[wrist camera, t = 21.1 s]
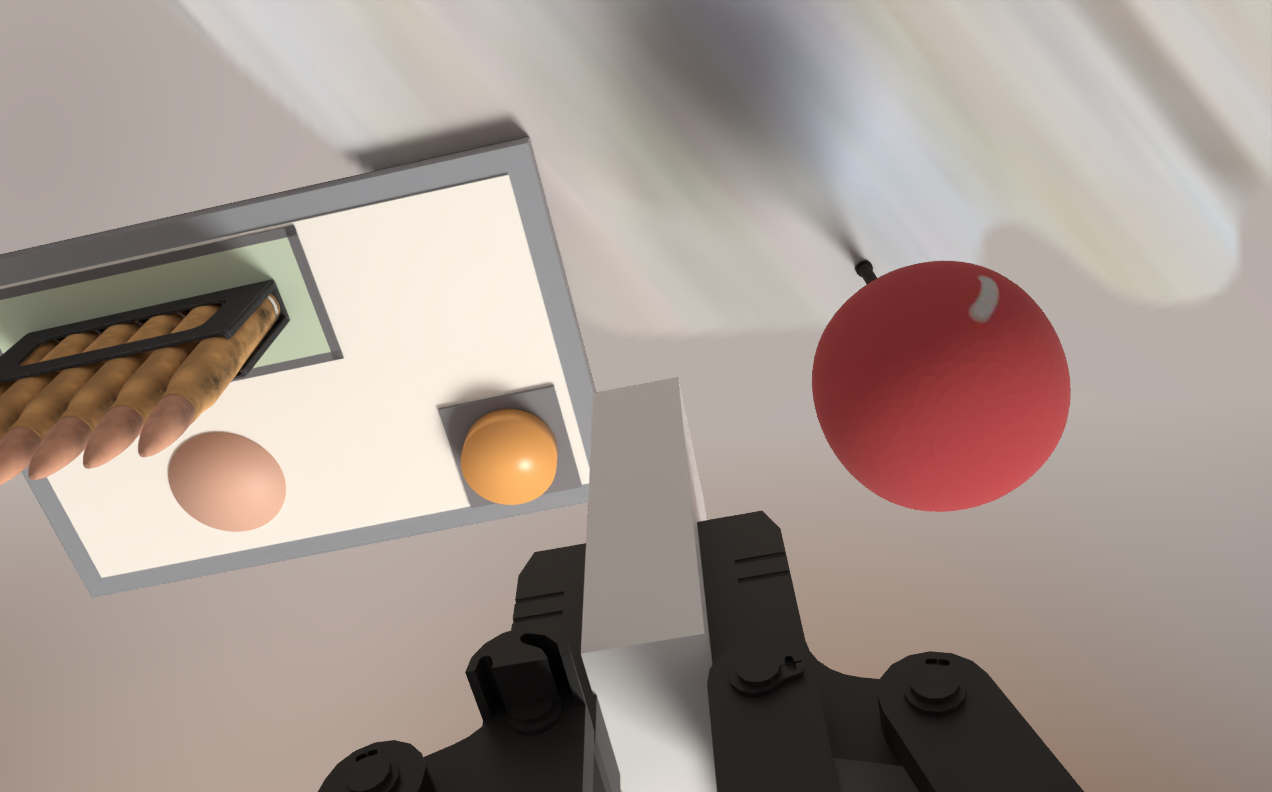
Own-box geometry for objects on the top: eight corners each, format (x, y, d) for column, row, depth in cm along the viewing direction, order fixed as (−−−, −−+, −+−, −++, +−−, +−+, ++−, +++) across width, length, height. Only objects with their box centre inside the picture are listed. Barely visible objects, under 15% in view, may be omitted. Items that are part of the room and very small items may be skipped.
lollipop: (986, 297, 45) (1144, 488, 31) (818, 379, 46) (900, 594, 33) (915, 136, 41) (1057, 271, 28) (738, 230, 43) (792, 400, 30)
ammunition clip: (44, 374, 44) (-139, 541, 33) (23, 333, 43) (-172, 491, 33) (291, 320, 43) (184, 474, 32) (274, 278, 42) (158, 422, 32)
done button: (452, 419, 45) (448, 432, 44) (544, 400, 45) (543, 413, 44) (479, 497, 47) (475, 512, 46) (567, 480, 47) (566, 495, 46)
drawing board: (-71, 270, 43) (-90, 281, 42) (529, 136, 41) (526, 144, 40) (100, 584, 50) (88, 601, 49) (620, 483, 48) (620, 499, 47)
